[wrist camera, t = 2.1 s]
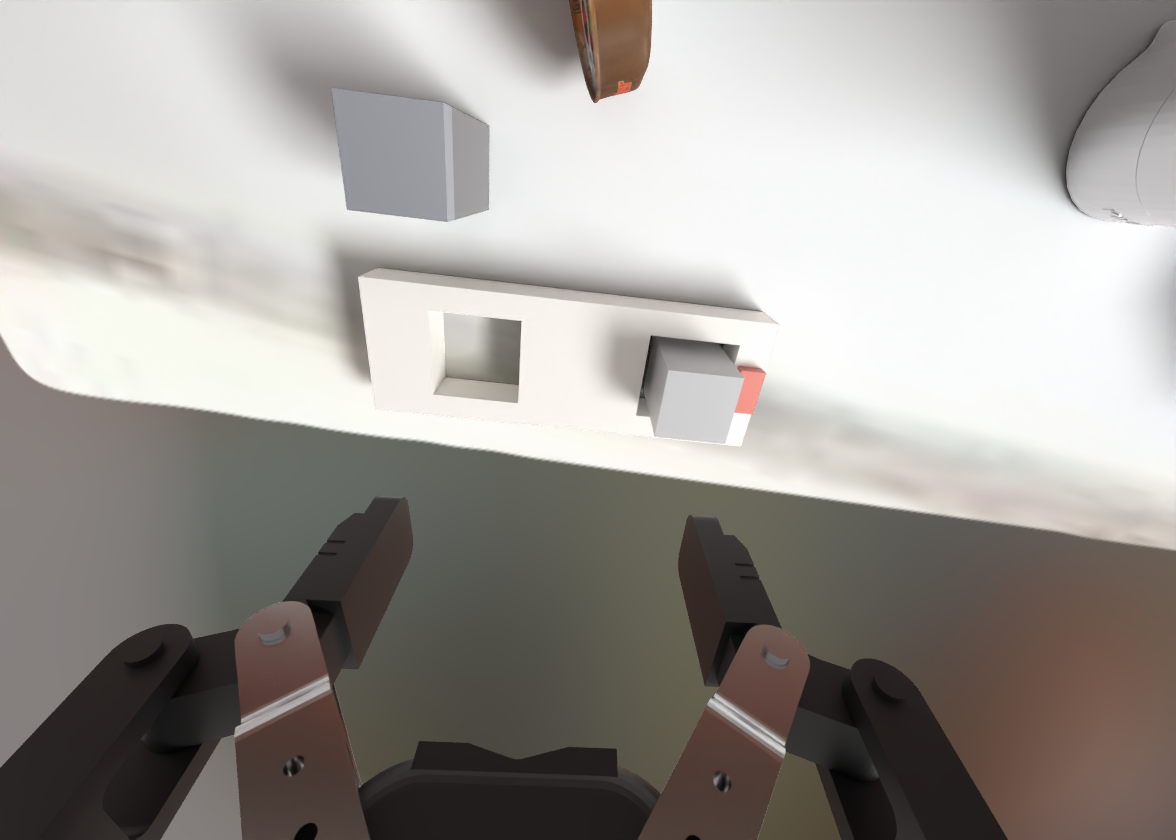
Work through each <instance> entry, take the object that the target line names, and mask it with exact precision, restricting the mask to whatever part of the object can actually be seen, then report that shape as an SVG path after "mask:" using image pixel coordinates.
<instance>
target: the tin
mask: <svg viewBox="0 0 1176 840" xmlns="http://www.w3.org/2000/svg"><path fill="white" fill-rule="evenodd" d="M569 2H570V7H571V13H572V19H573V25H574V30H575V36H576V40H577V45H578V49H579V55H580V60H581V65H582V69H583V74H584V77H585V82H586V85H587V89H588V91H589V94H590V97H591V99H592V100H593V102H594V103H597V102H598V101H599V100H600V99H603V98H606V97H610V96H614V95H618V94H623V93H627V92H630V91H633V90H635V89H637V88H638V87H639V85H640V83H641V81H642V79H643V76H644V74H645V72H646V69H647V67H648V63H649V58H650V49H651V29H652V0H569Z"/></svg>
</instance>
